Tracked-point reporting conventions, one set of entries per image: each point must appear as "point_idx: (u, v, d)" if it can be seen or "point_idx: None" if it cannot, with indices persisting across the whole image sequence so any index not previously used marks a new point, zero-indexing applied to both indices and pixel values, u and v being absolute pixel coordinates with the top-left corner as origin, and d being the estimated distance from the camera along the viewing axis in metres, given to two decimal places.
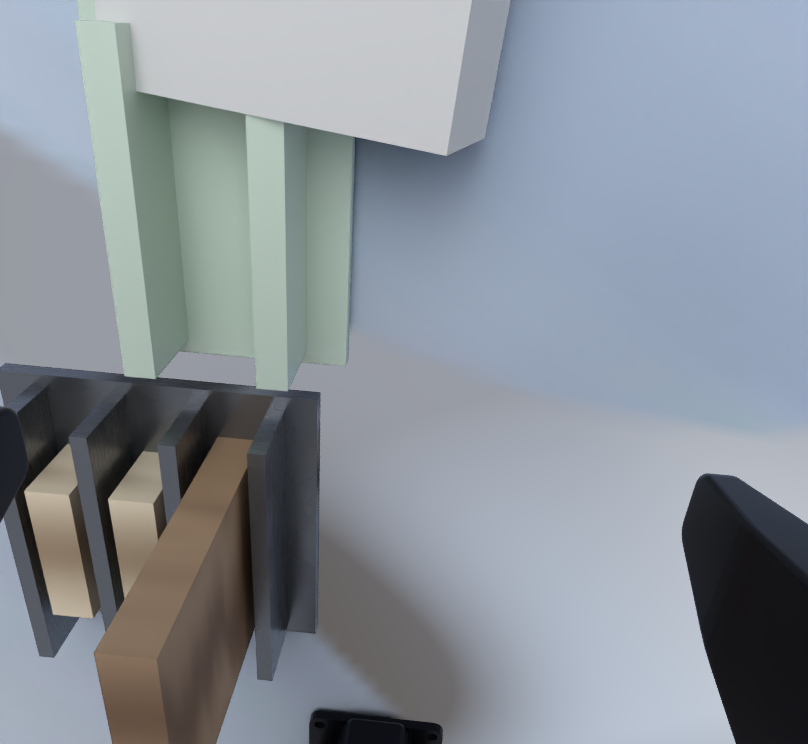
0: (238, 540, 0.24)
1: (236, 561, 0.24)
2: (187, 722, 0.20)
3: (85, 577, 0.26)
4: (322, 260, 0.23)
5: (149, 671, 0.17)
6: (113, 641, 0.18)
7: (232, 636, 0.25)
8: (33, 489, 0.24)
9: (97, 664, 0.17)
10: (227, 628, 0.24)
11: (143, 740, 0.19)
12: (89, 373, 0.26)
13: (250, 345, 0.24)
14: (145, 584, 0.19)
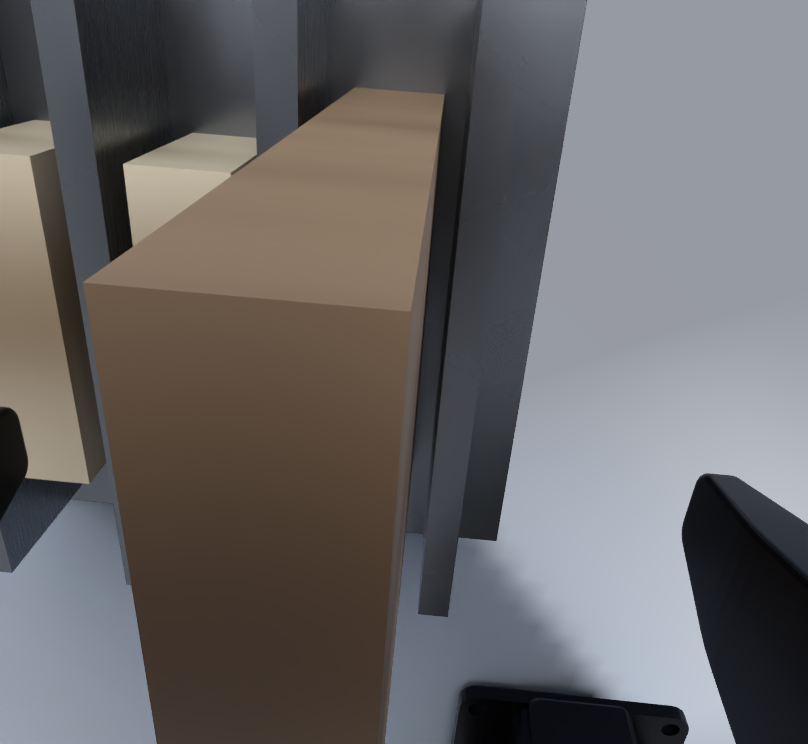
0: None
1: (423, 317, 0.10)
2: (386, 677, 0.06)
3: (72, 384, 0.12)
4: None
5: (359, 395, 0.04)
6: (177, 262, 0.04)
7: (407, 498, 0.11)
8: None
9: (101, 361, 0.04)
10: (409, 468, 0.10)
11: (279, 736, 0.05)
12: None
13: None
14: (269, 182, 0.05)
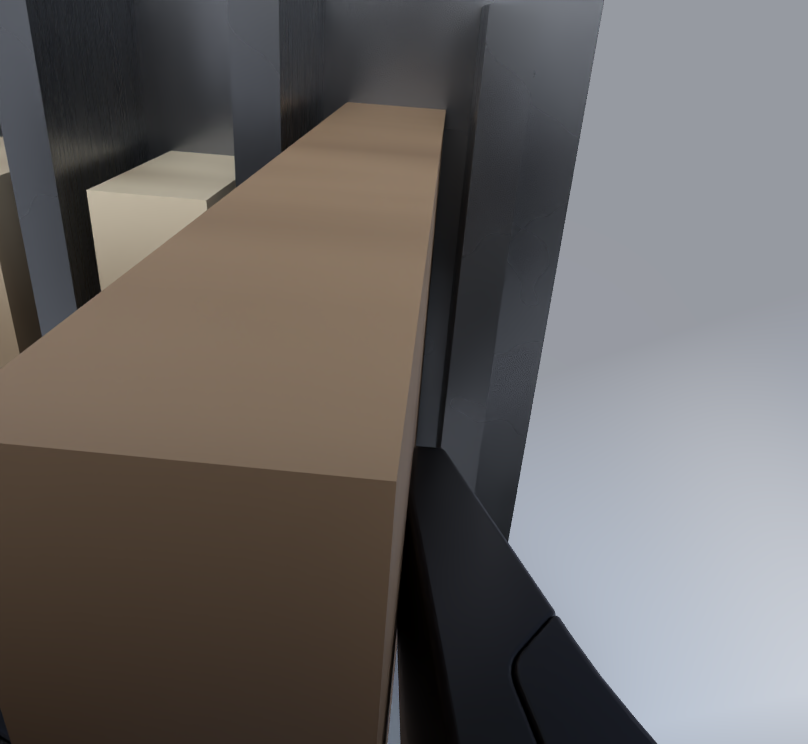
0: None
1: None
2: None
3: None
4: None
5: (325, 584, 0.02)
6: (70, 387, 0.03)
7: None
8: None
9: None
10: None
11: None
12: None
13: None
14: (228, 238, 0.04)
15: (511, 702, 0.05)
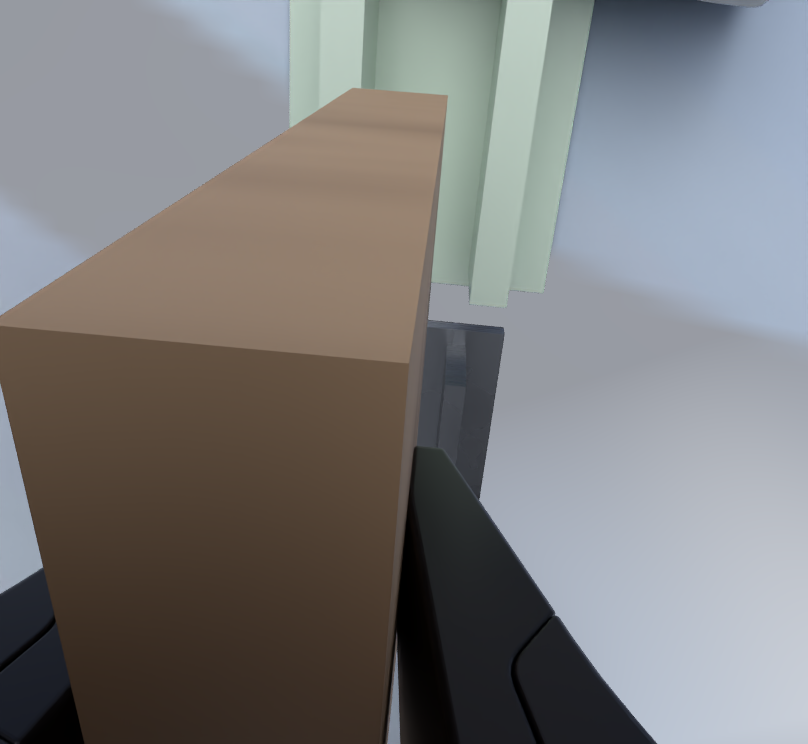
0: None
1: None
2: None
3: None
4: (534, 164, 0.20)
5: (344, 466, 0.03)
6: (117, 294, 0.03)
7: None
8: None
9: (18, 421, 0.03)
10: None
11: None
12: None
13: (435, 267, 0.21)
14: (247, 191, 0.05)
15: (510, 702, 0.05)
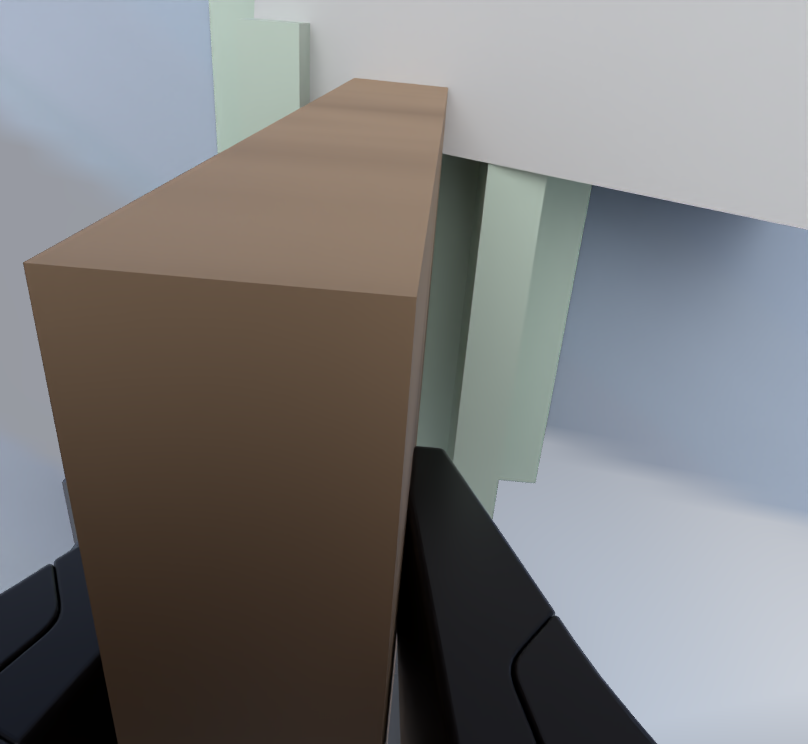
0: None
1: (426, 317, 0.10)
2: (387, 709, 0.06)
3: None
4: (522, 349, 0.16)
5: (355, 395, 0.03)
6: (142, 242, 0.03)
7: None
8: None
9: (50, 358, 0.03)
10: None
11: None
12: None
13: None
14: (258, 162, 0.05)
15: (511, 702, 0.05)
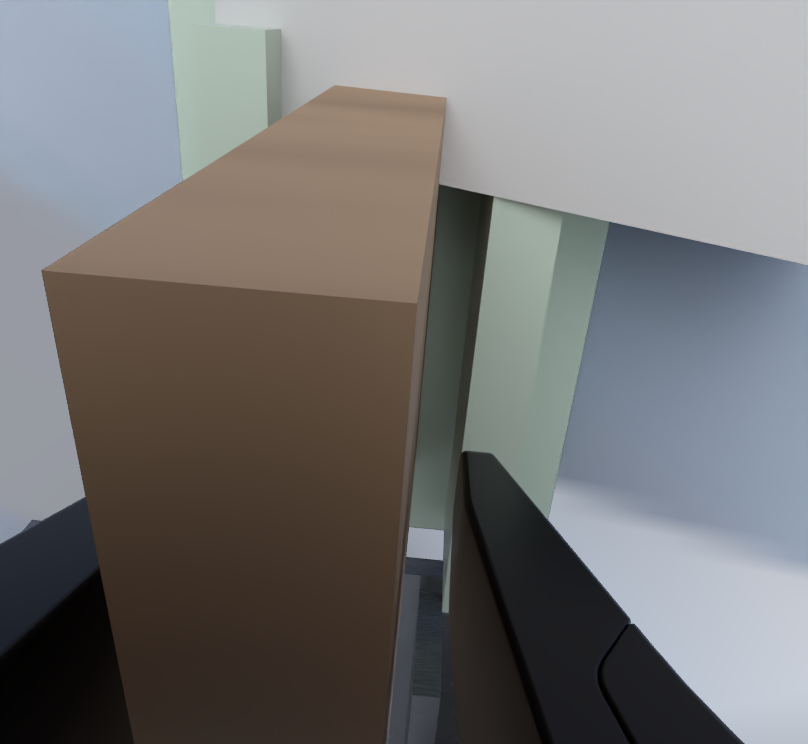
0: None
1: (427, 310, 0.10)
2: (389, 695, 0.06)
3: None
4: None
5: (359, 398, 0.03)
6: (153, 248, 0.03)
7: (410, 498, 0.10)
8: None
9: (66, 360, 0.03)
10: None
11: None
12: None
13: None
14: (262, 163, 0.05)
15: (604, 712, 0.05)
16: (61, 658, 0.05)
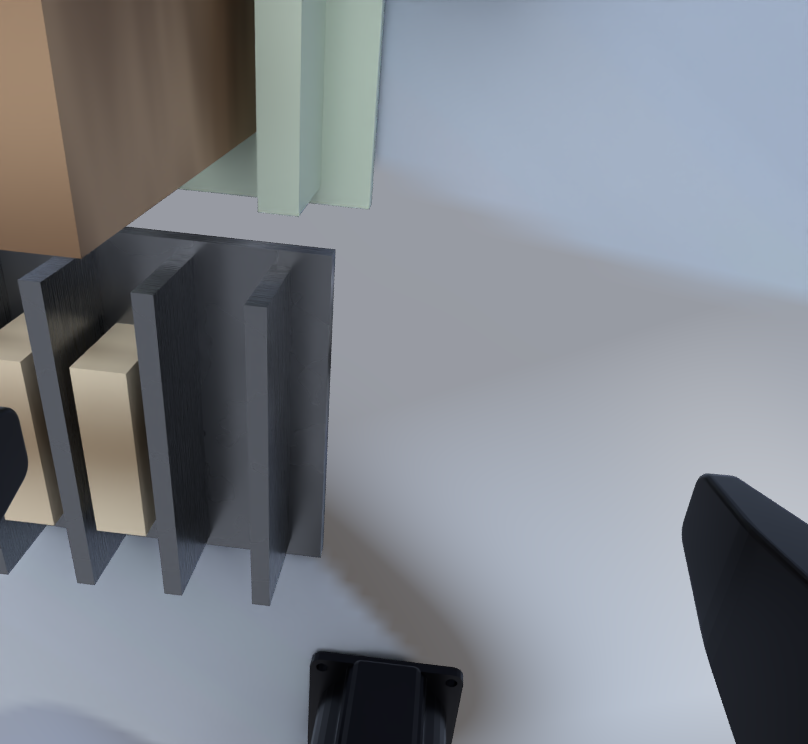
0: None
1: None
2: None
3: (43, 471, 0.21)
4: (344, 58, 0.18)
5: None
6: None
7: (198, 39, 0.14)
8: None
9: None
10: None
11: None
12: None
13: (250, 179, 0.19)
14: None
15: None
16: None
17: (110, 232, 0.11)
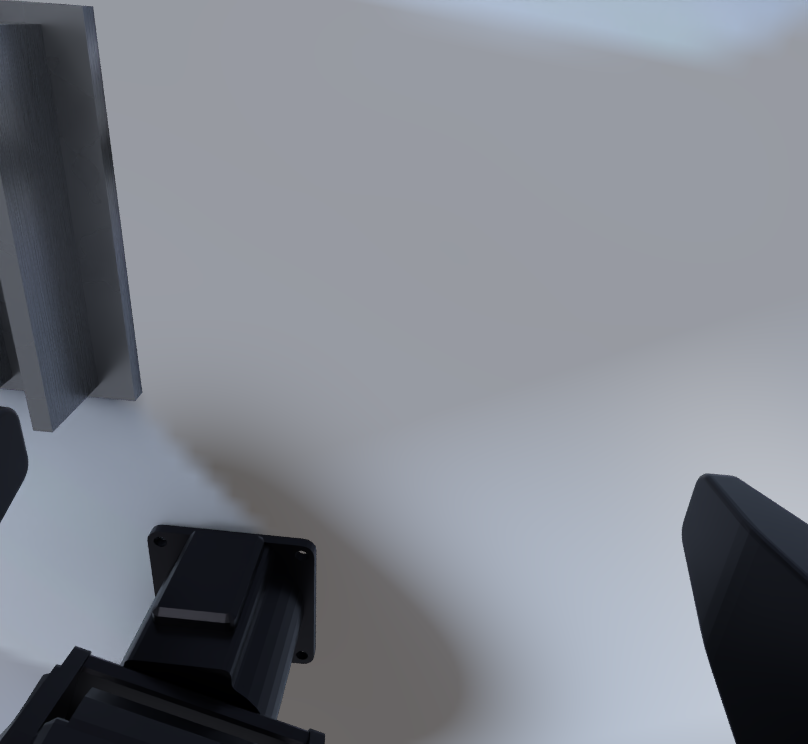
0: None
1: None
2: None
3: None
4: None
5: None
6: None
7: None
8: None
9: None
10: None
11: None
12: None
13: None
14: None
15: None
16: None
17: None
